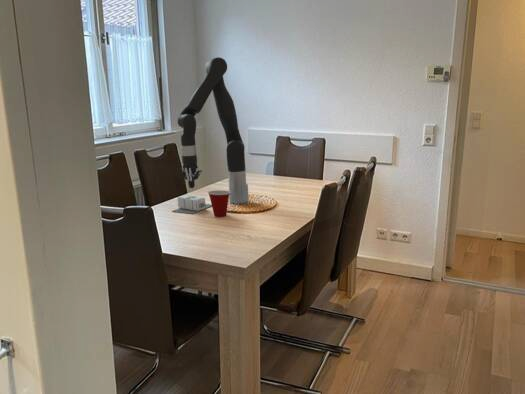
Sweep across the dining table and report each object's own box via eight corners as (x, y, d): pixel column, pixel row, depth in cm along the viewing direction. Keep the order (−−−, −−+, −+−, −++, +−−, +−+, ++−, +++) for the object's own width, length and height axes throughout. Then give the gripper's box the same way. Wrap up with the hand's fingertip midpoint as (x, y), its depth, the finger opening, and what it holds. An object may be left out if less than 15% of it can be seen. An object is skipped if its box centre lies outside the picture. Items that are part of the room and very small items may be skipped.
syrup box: (178, 208, 249) (198, 211, 241) (176, 197, 248) (197, 200, 240) (185, 205, 254) (206, 208, 246) (184, 194, 252) (205, 197, 244)
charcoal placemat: (213, 205, 253) (213, 204, 253) (192, 214, 237) (192, 213, 237) (193, 203, 259) (193, 202, 259) (172, 211, 244) (172, 211, 244)
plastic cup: (236, 214, 233) (235, 190, 230) (219, 219, 226) (217, 194, 223) (222, 211, 240) (220, 187, 238) (204, 216, 233) (203, 191, 230)
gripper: (204, 153, 242) (206, 187, 246) (183, 152, 248) (186, 185, 252) (195, 155, 235) (197, 190, 239) (174, 154, 242) (176, 188, 246)
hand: (191, 187), depth 246 cm, fingers closed
